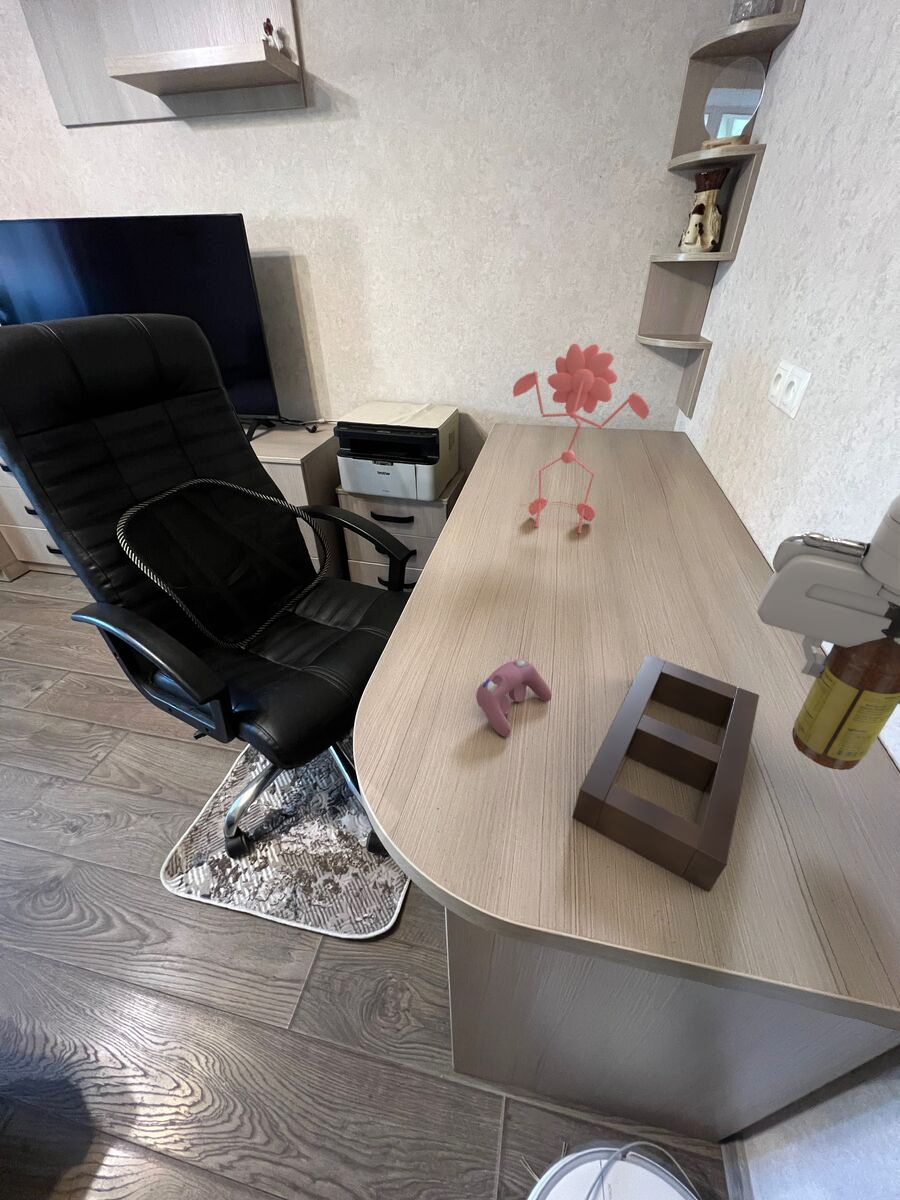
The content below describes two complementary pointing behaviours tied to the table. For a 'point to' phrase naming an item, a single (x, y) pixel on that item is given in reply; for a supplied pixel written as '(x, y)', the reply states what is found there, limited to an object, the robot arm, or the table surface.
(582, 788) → the hole block
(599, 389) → the flower sculpture
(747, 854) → the table surface
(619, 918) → the table surface
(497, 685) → the video game controller
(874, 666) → the sauce bottle
